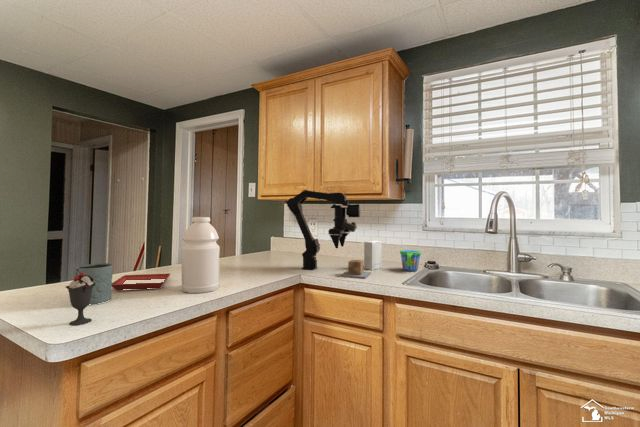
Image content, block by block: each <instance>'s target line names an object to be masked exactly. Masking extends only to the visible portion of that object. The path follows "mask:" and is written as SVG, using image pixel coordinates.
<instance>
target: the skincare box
mask: <svg viewBox="0 0 640 427" xmlns="http://www.w3.org/2000/svg"><path fill="white" fill-rule="evenodd" d="M363 245H364V246H363V247H364V248H363V249H364V250H363V251H364V252H363V255H364V256H363V258H364V259H363V261H364V269H365V270H367V271H368V270H369V271H374V270H379V269H382V268H383V267H382V263H383V262H382V261H383V260H382V259H383V241H380V240H368V241H364V244H363Z"/></svg>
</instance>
